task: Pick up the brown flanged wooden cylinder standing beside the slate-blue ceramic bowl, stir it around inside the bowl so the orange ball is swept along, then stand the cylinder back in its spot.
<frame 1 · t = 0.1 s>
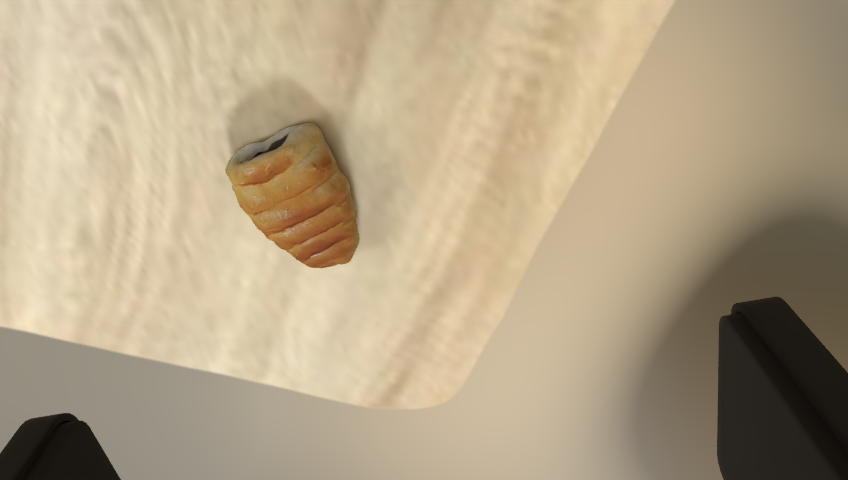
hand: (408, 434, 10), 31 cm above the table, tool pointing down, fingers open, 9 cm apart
pastry: (303, 184, 42), on the table
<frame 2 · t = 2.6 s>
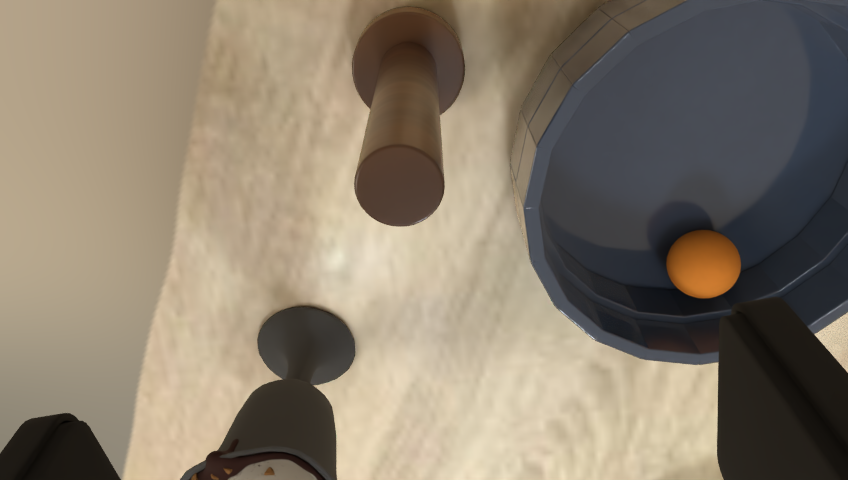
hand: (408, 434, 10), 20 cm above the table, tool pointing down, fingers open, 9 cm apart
brown flanged wooden cylinder: (409, 63, 27), on the table
sundae: (307, 342, 34), on the table
bowl: (685, 151, 29), on the table
orange ball: (702, 264, 29), point 2 cm above the table, touching bowl
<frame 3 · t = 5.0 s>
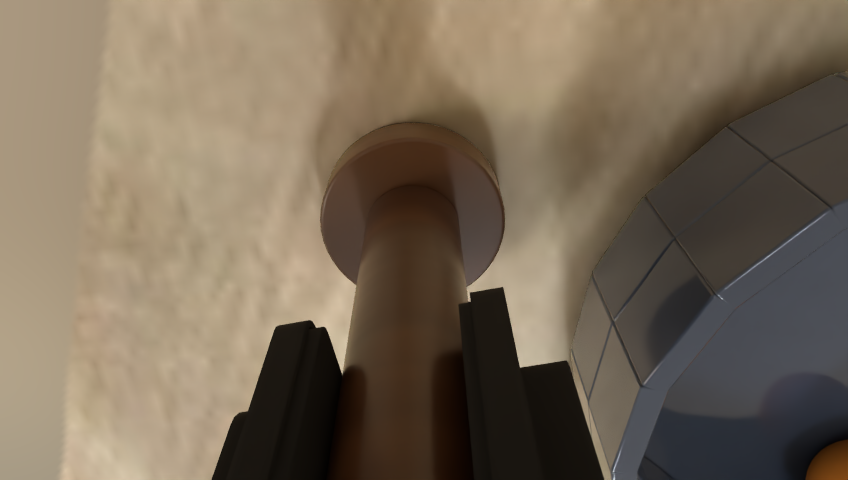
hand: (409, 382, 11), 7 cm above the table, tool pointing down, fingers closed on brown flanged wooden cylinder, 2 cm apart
brown flanged wooden cylinder: (413, 205, 17), on the table, touching gripper
bowl: (840, 323, 19), on the table
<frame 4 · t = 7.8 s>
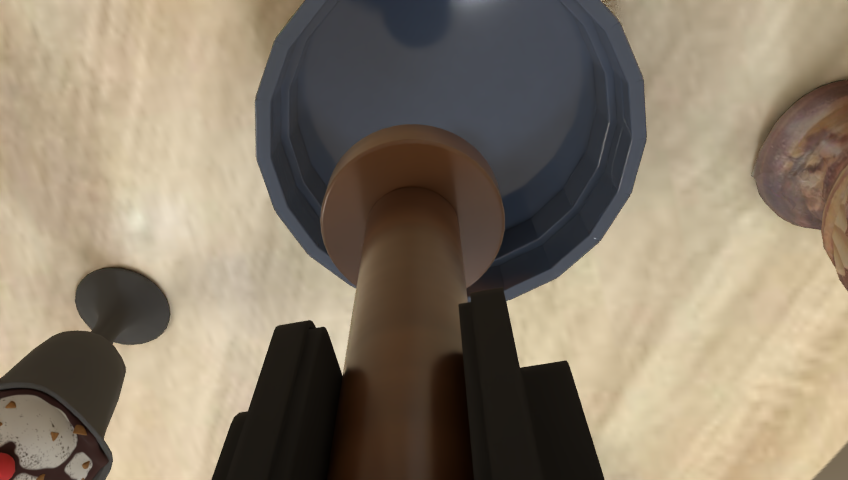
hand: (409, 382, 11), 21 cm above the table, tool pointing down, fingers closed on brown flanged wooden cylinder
brown flanged wooden cylinder: (413, 206, 17), point 14 cm above the table, touching gripper
sundae: (124, 303, 36), on the table
bowl: (445, 109, 30), on the table
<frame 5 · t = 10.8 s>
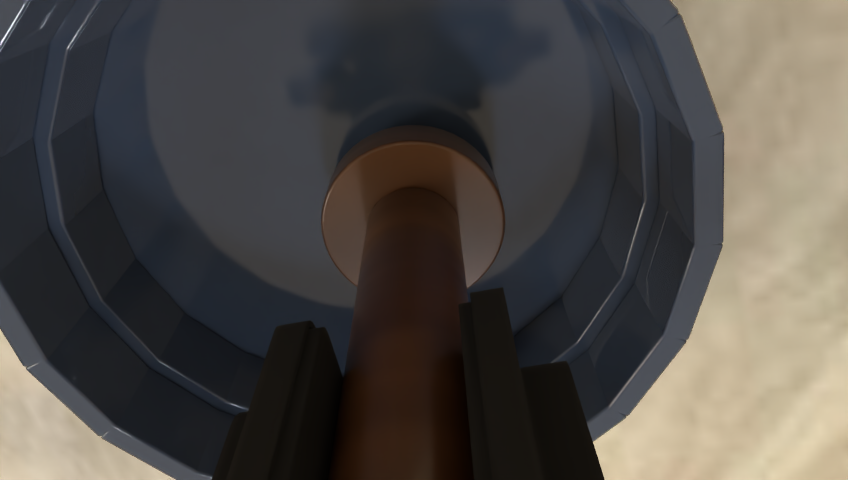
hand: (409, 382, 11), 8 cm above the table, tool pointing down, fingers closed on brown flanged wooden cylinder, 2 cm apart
brown flanged wooden cylinder: (413, 207, 17), point 1 cm above the table, touching gripper
bowl: (361, 168, 18), on the table
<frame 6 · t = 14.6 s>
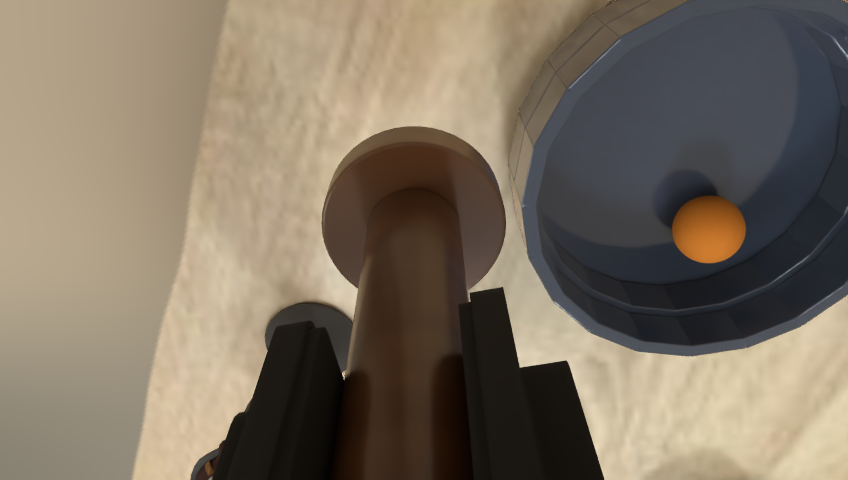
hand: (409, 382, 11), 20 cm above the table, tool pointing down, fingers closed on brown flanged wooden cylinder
brown flanged wooden cylinder: (414, 208, 17), point 13 cm above the table, touching gripper
sundae: (312, 338, 35), on the table
bowl: (677, 151, 30), on the table
orange ball: (708, 229, 29), point 2 cm above the table, tilted 57°, touching bowl
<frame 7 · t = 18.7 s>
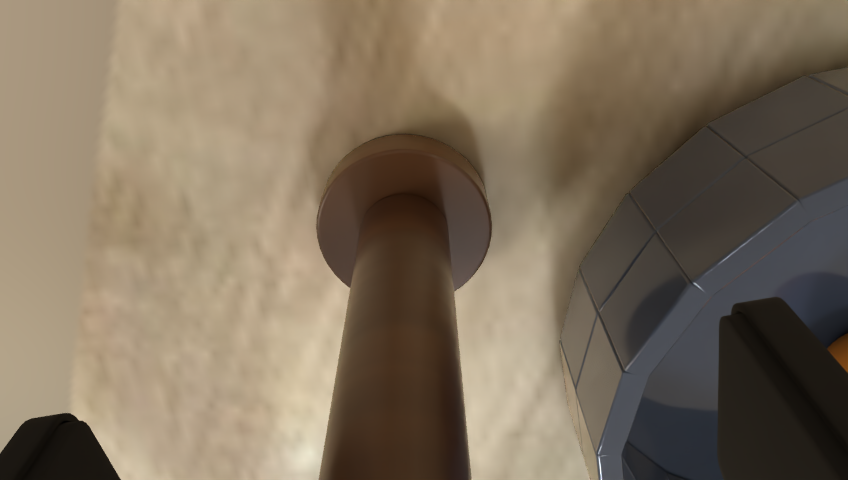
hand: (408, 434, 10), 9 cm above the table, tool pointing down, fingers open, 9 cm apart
brown flanged wooden cylinder: (405, 212, 18), on the table
bowl: (818, 316, 19), on the table
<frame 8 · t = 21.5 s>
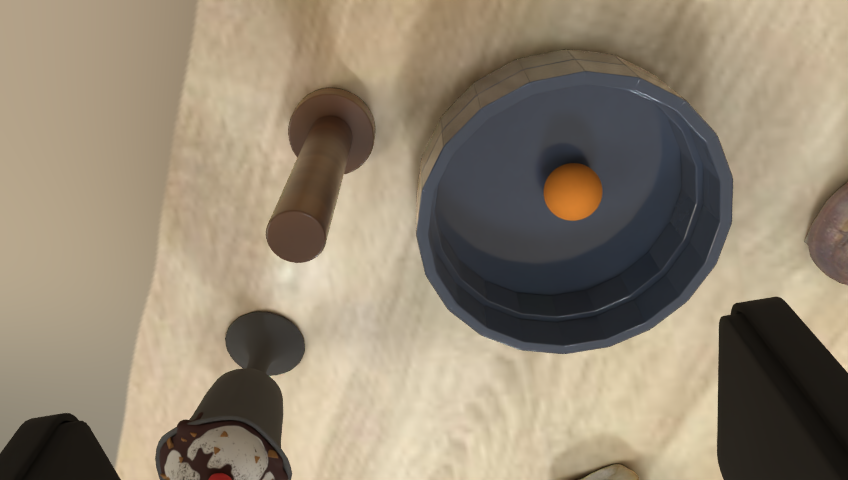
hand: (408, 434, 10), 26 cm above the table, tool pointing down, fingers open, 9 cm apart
brown flanged wooden cylinder: (333, 128, 35), on the table
sundae: (265, 340, 42), on the table
bowl: (555, 187, 37), on the table
orange ball: (572, 191, 34), point 2 cm above the table, tilted 163°, touching bowl
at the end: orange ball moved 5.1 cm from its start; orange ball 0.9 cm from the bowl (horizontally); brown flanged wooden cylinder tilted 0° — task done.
